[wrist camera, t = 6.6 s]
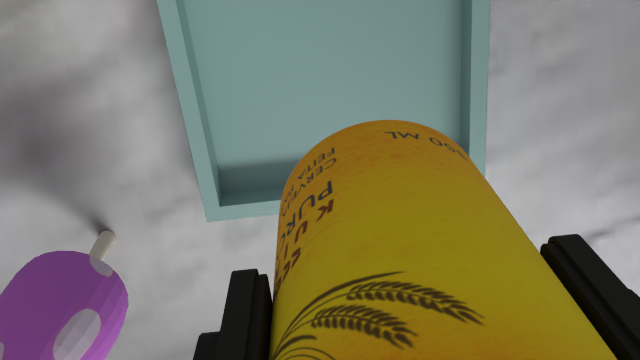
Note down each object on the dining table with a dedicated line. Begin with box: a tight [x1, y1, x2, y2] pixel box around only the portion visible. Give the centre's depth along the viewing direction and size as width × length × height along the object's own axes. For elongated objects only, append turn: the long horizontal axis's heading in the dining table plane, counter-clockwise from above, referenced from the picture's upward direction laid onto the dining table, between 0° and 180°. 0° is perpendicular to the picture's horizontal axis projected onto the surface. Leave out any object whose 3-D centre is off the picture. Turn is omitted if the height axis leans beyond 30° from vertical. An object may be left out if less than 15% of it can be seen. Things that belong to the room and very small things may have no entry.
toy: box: [0, 231, 128, 360], centre depth 32 cm, size 7×7×15 cm
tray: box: [156, 0, 490, 222], centre depth 32 cm, size 18×18×3 cm
